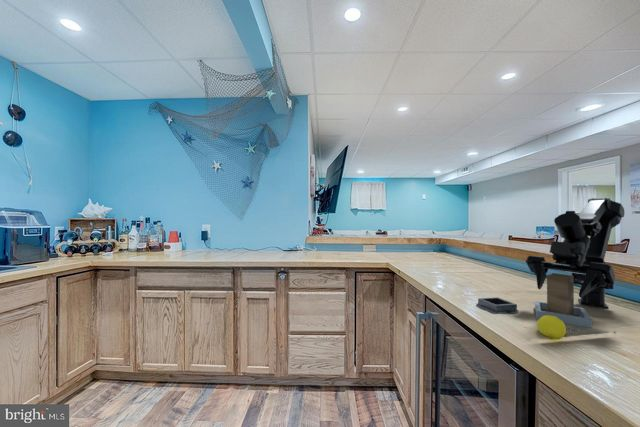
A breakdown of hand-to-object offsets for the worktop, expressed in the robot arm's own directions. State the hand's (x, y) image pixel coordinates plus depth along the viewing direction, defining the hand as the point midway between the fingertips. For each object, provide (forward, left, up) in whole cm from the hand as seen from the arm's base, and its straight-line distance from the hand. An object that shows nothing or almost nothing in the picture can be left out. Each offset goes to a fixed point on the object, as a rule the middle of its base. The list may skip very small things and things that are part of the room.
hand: (558, 292), depth 77 cm
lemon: (+15, -2, -8) cm, 17 cm away
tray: (-1, +1, -8) cm, 8 cm away
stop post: (-1, +1, -7) cm, 8 cm away
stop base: (+1, -14, -8) cm, 17 cm away
